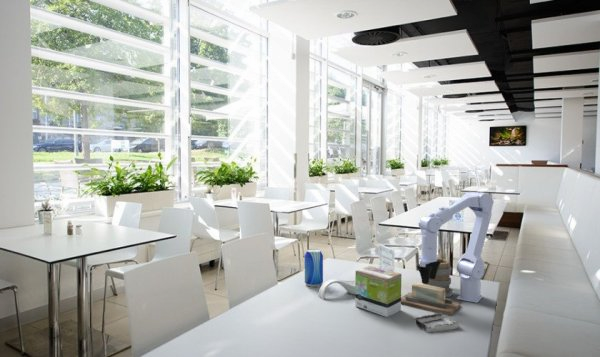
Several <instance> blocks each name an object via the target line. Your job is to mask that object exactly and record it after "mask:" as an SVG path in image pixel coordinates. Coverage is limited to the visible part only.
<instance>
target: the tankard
mask: <svg viewBox="0 0 600 357" xmlns="http://www.w3.org/2000/svg"><path fill="white" fill-rule="evenodd" d="M437 261H441V263H440V265H439V267H438V270H437V273H436V277H435V279H430V278H429V283H428V284H425V285H430V286H435V287H441V288H445V298H449V297H451V296H452V295H453V293H454V292H453V291H454V290H453V289H452V288H450V285H451V284H452V278H451V277H450V275H451V273H452V267H451V261H450V260H448V259H445V258H444V253H443V252H439V253H438V260H437ZM422 284H424V283H422Z"/></svg>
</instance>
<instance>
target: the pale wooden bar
mask: <svg viewBox="0 0 600 357" xmlns="http://www.w3.org/2000/svg"><path fill="white" fill-rule="evenodd" d="M411 293H412V297H414V298H419V299H423V300H428V301H433V302H437V303H442V304H445V298H446V297H445V288H441V287H435V286H430V285H425V284H423V283H418V282H414V283H413V284H412V285H411Z"/></svg>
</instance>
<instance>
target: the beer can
mask: <svg viewBox="0 0 600 357" xmlns="http://www.w3.org/2000/svg"><path fill="white" fill-rule="evenodd" d="M304 283H305V285H306V286H307V287H309V286H310V287H309V288H319V287H321V286H322V284H323V283H324V254H323V253H322V250H321V249H318V248H310V249H306V252H305V254H304ZM318 286H319V287H318Z"/></svg>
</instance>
